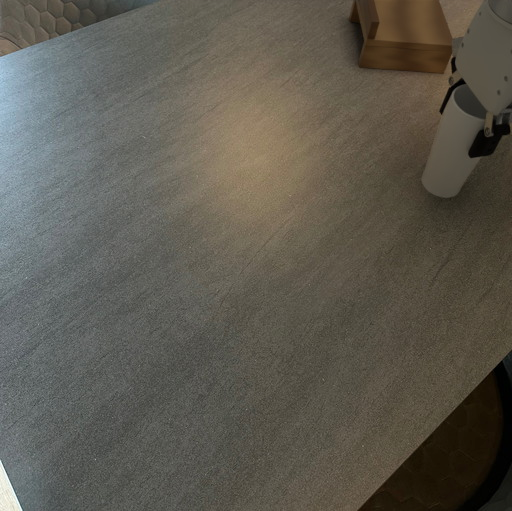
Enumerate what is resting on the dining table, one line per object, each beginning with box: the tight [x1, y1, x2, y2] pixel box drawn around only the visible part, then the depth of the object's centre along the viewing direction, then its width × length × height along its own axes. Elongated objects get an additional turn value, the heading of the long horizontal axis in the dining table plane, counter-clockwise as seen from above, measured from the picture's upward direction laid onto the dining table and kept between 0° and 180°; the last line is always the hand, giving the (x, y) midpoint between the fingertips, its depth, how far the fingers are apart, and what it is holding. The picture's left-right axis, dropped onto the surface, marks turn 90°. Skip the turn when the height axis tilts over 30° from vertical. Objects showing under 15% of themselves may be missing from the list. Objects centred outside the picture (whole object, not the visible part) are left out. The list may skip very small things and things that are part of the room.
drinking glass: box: [420, 84, 503, 199], centre depth 79 cm, size 7×7×15 cm
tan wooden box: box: [348, 0, 454, 74], centre depth 101 cm, size 14×14×8 cm
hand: (465, 132), depth 77 cm, fingers closed on drinking glass, 6 cm apart
